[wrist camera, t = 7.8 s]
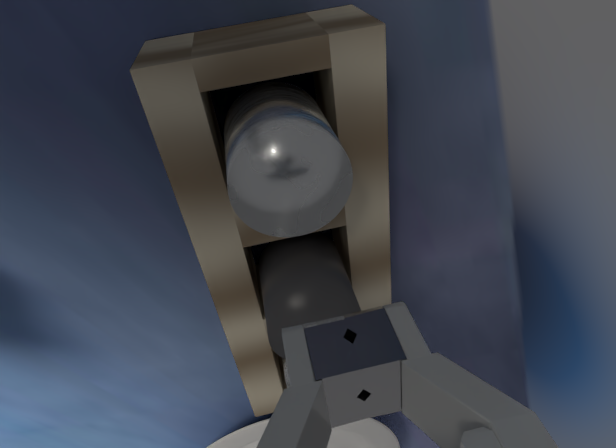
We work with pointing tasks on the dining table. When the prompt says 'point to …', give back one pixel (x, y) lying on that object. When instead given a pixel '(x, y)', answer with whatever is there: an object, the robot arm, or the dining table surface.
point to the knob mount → (212, 164)
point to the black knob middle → (303, 284)
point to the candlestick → (342, 444)
